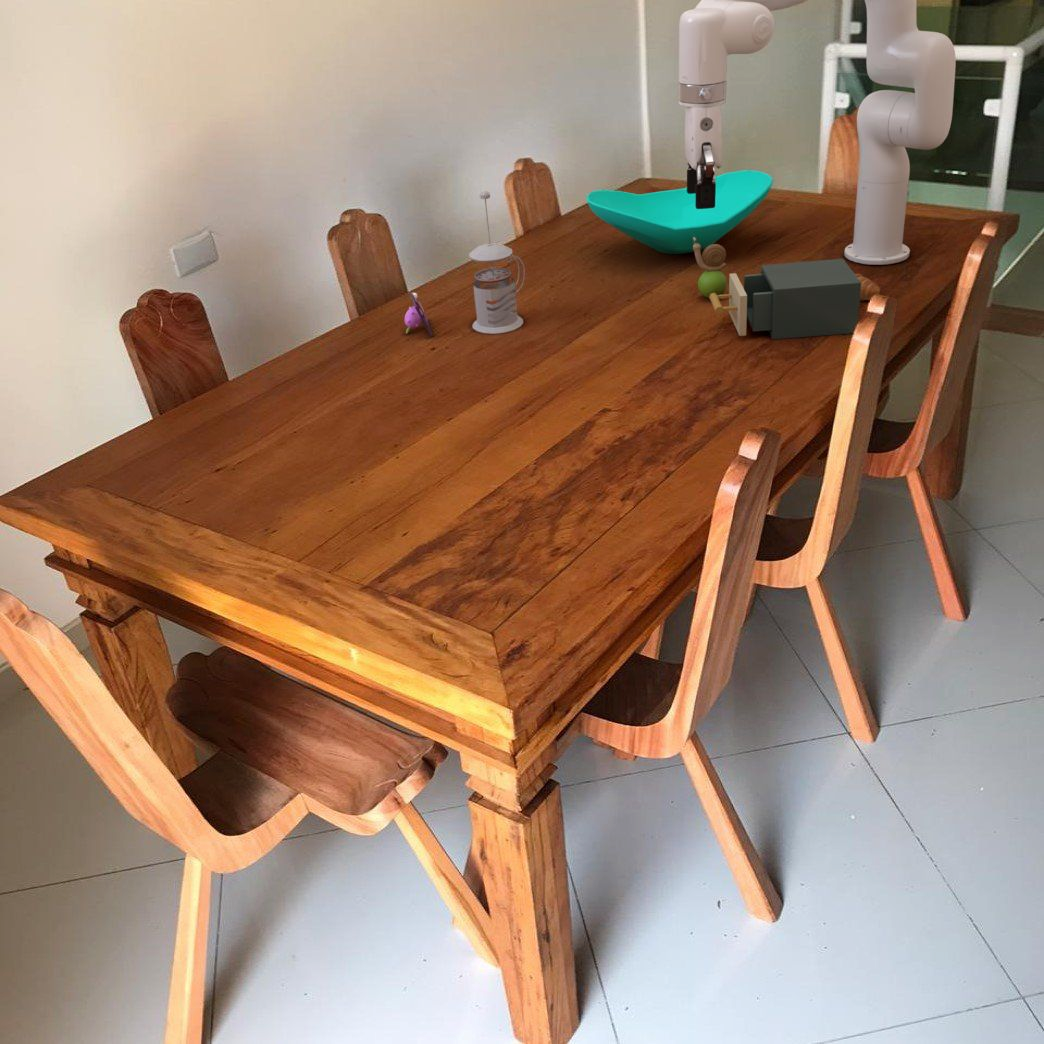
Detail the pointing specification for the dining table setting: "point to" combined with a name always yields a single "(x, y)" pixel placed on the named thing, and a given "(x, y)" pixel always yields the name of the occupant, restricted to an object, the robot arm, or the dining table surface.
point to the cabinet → (813, 298)
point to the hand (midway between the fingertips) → (700, 200)
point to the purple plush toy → (415, 315)
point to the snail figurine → (711, 269)
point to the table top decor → (682, 212)
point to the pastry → (867, 288)
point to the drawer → (747, 303)
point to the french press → (498, 314)
